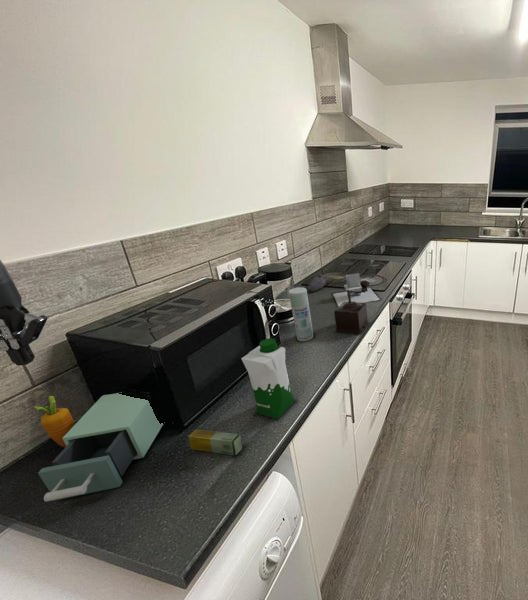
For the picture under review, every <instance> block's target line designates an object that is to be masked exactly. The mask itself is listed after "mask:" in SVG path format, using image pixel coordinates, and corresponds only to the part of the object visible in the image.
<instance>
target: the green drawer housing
mask: <svg viewBox="0 0 528 600" xmlns="http://www.w3.org/2000/svg"><path fill="white" fill-rule="evenodd" d="M119 393H120V392H116V393H110V394H104V395H102V396H100V397H99V399H97V401H96V402H94V404H93V405H92V406H91V407H90V408H89V409H88V410H87V411H86V412H85V413H84V414H83V415H82V416H81V417H80V419H78V421H77V422H76V423H75V425H74V426H73V427H72V428H71V429H70V431H69V432H68V433H67V434H66V435H65V436H64V437H63V438H62V439H63V441H64V442H65V444H66V446H67V445H68V444H69V443H70V442H71V441H72V440H73V439H77V438H83V437H88V436H94V435H99V434H105V433H110V432H116V431H122V430H127V432H128V434H129V437H130V439H131V441H132V443H133V445H134V447H135V449H136V451H137V453H136V455H135V456H134V458H133V460H132V461H134V460H138V459H144V457H146V454H147V453H148V451H149V449H150V448H151V446H152V444H153V442H154V441H155V439H156V437H157V436H158V434H159V433H160V431H161V429H162V427H163V426H164V424H163V423H161V424H160V423H159V421H158V420H157V418H156V416H155V414H154V412H153V409H152V407H151V406H150V403H149V401H148V400H145V399H140V398H134V397H130V396H126V395H122V394H119Z"/></svg>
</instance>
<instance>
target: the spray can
mask: <svg viewBox="0 0 528 600" xmlns="http://www.w3.org/2000/svg"><path fill="white" fill-rule="evenodd" d="M288 297H289V302H290V307H291V312H292V318H293V324H294V328H295V329H294V330H295V334H296V339H297V340H298V341H299V342H306V341H307V342H308V341H310V340H312V339H313V338H314V331H313V330H314V329H313V323H312V315H311V310H310V304H309V297H308V288H306V287H303V286H302V287H301V286H300V287H299V286H298V287H293V288H291V289H289V290H288Z"/></svg>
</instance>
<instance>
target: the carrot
mask: <svg viewBox="0 0 528 600" xmlns="http://www.w3.org/2000/svg"><path fill="white" fill-rule="evenodd" d="M47 398H48V401H49V406H48V405H46V406H45V407H43V406H39V405H35V406H34V409H35V410H37V411H39V412H42V413H44V414H43V415H42V416H41V417H40V423H41V426H42V428H43V429H44V431H45V432H46V433H47V435H48V436H49V437H50V439H52V440H53V441H54V442H55V443H56V445H58V446H60V447H62V448H65V447H66V444H65V442H64V441H63V439H62V438H63V437H64V436H65V435H66V434H67V433H68V432H69V431H70V429H71V428H72V427H73V426H74V425H75V424H76V423H75V421H74V418H73V416H72V414H71V412H70V410H69V409H68V408H67V407H57V403H56V399H55V396H54V395H49V396H48V397H47Z"/></svg>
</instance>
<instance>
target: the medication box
mask: <svg viewBox="0 0 528 600" xmlns="http://www.w3.org/2000/svg"><path fill="white" fill-rule="evenodd" d="M188 440H189V444H190V445H189V446H190V450H193V451H201V452H207V453H215V454H222V455H230V456H237V455H238V454H239V453H240V452H241V451H242V450H243V444H242V438H241V434H240V433H231V432H221V431H215V430H205V429H195V430H194V431H192V432H191V433H190V434H189V435H188Z"/></svg>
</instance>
